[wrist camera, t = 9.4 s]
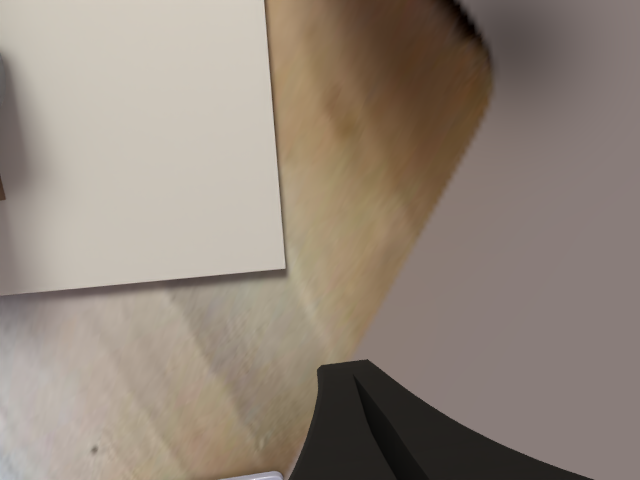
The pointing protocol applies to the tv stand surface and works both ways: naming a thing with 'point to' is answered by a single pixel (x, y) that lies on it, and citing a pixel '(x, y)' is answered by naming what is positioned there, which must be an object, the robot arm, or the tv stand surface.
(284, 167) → the tv stand surface
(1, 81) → the pin
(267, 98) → the board
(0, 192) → the block
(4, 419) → the tv stand surface
